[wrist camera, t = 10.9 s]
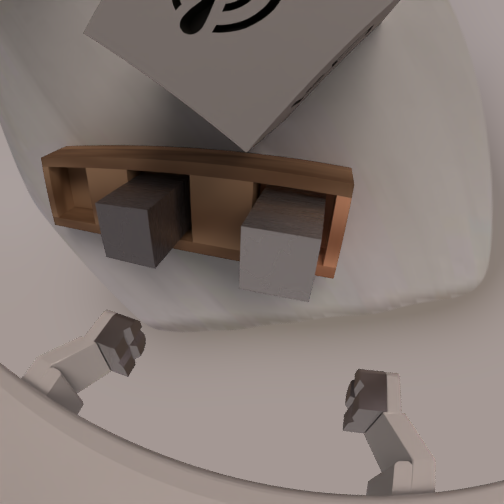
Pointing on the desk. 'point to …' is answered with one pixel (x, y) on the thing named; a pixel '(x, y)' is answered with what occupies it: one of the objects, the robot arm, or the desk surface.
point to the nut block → (282, 242)
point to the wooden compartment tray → (197, 191)
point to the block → (145, 217)
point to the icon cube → (236, 52)
